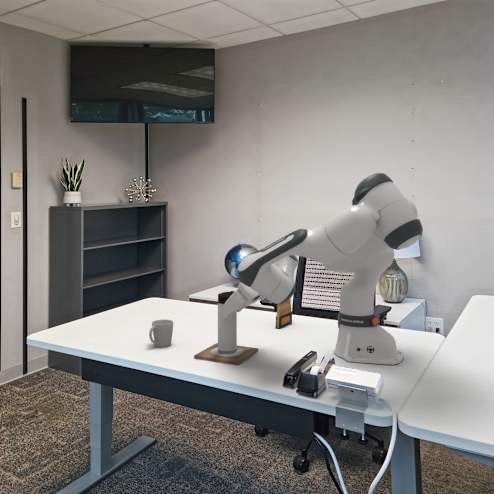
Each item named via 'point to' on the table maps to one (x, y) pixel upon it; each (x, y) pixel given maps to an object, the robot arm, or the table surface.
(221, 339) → the travel mug
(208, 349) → the board
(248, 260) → the robot arm
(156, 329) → the cup
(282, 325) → the ammunition clip
